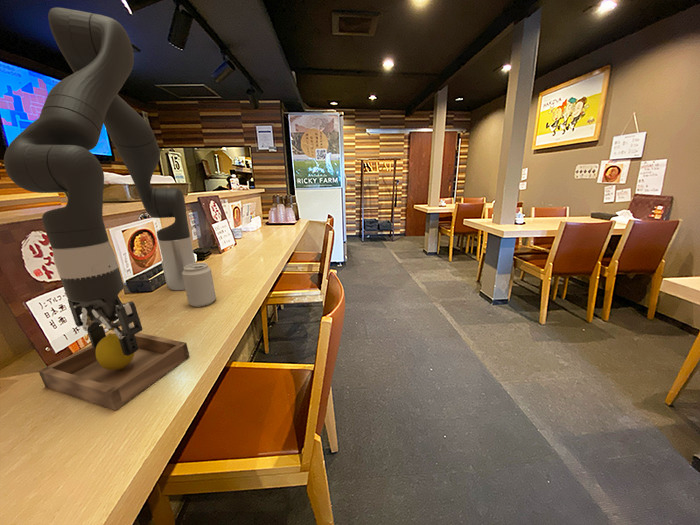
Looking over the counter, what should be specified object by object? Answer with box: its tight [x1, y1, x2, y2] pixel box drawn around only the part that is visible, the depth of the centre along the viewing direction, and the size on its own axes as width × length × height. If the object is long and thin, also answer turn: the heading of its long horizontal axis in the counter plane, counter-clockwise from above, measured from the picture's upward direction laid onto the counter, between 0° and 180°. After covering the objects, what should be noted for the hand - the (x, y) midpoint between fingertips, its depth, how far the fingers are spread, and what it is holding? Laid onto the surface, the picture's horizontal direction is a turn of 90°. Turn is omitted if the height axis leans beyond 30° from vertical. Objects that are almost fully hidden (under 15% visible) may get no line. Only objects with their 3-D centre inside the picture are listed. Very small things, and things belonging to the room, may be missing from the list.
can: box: [182, 262, 217, 308], centre depth 80 cm, size 8×8×12 cm
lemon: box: [96, 333, 134, 370], centre depth 52 cm, size 6×6×8 cm
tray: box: [38, 329, 190, 412], centre depth 53 cm, size 18×14×4 cm
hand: (115, 349), depth 52 cm, fingers open, 8 cm apart
